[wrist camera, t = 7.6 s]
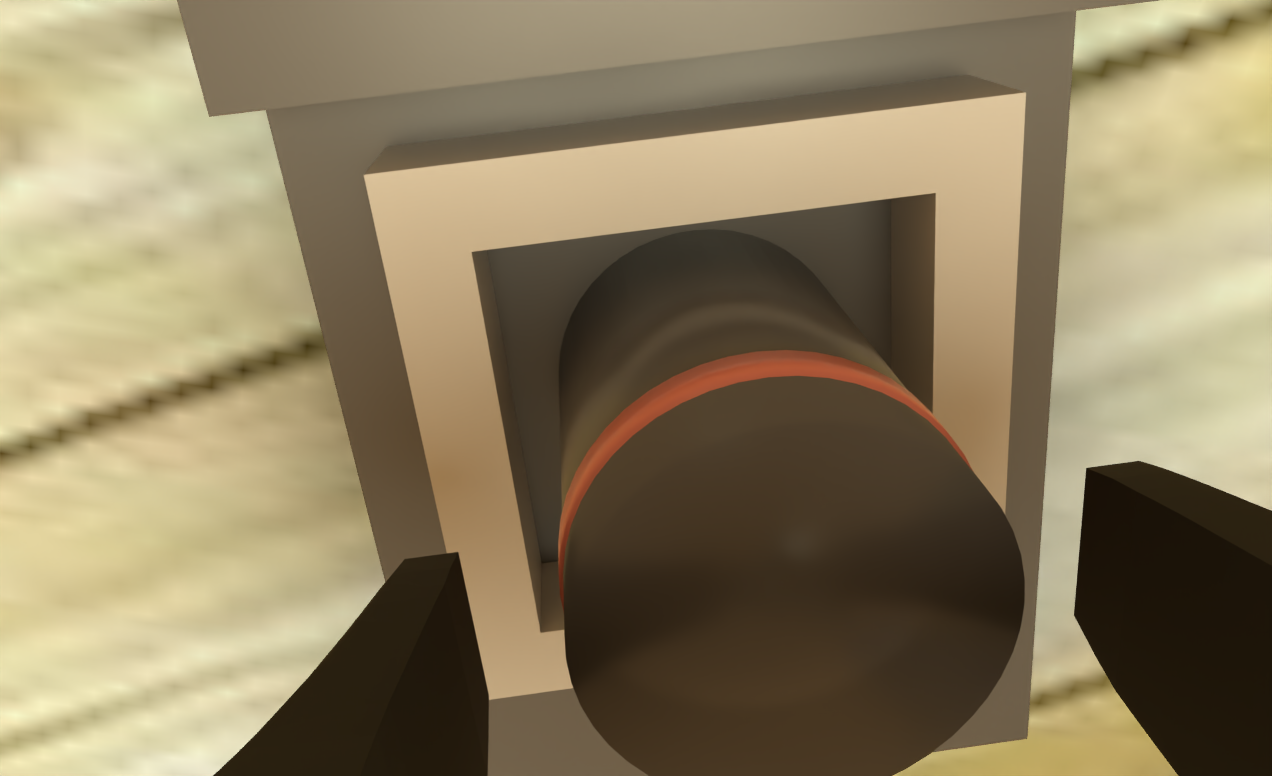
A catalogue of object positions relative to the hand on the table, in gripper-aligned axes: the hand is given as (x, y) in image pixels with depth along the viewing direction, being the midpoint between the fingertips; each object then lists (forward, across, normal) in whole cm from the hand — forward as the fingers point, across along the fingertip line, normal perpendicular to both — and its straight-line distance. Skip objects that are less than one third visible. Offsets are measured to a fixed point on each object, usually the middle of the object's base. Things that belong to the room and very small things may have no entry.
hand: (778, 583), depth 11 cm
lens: (+6, 0, 0) cm, 6 cm away
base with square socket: (+8, 0, 0) cm, 8 cm away
